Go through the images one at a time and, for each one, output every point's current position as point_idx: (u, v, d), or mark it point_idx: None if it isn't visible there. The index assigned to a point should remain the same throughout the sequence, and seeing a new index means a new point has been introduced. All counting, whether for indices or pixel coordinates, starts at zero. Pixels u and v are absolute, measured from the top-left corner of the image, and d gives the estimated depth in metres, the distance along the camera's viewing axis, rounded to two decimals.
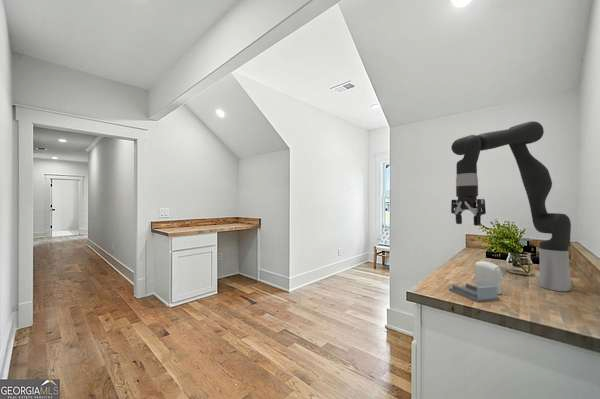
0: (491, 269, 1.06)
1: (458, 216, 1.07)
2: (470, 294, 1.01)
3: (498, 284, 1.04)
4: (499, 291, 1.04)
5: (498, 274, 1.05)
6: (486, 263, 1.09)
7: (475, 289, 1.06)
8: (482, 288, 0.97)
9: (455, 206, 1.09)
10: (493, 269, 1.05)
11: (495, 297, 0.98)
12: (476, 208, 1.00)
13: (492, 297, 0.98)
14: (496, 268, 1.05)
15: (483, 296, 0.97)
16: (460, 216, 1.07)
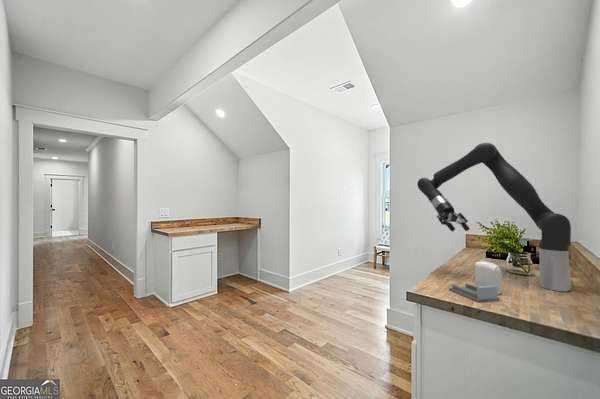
0: (491, 269, 1.06)
1: (462, 225, 1.26)
2: (470, 294, 1.01)
3: (498, 284, 1.04)
4: (499, 291, 1.04)
5: (498, 274, 1.05)
6: (486, 263, 1.09)
7: (475, 289, 1.06)
8: (482, 288, 0.97)
9: None
10: (493, 269, 1.05)
11: (495, 297, 0.98)
12: (447, 219, 1.26)
13: (492, 297, 0.98)
14: (496, 268, 1.05)
15: (483, 296, 0.97)
16: (463, 224, 1.25)
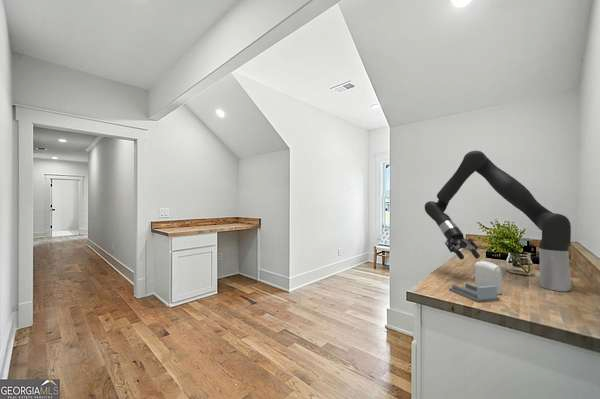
0: (491, 269, 1.06)
1: (472, 252, 1.21)
2: (470, 294, 1.01)
3: (498, 284, 1.04)
4: (499, 291, 1.04)
5: (498, 274, 1.05)
6: (486, 263, 1.09)
7: (475, 289, 1.06)
8: (482, 288, 0.97)
9: None
10: (493, 269, 1.05)
11: (495, 297, 0.98)
12: (455, 246, 1.22)
13: (492, 297, 0.98)
14: (496, 268, 1.05)
15: (483, 296, 0.97)
16: (473, 251, 1.21)
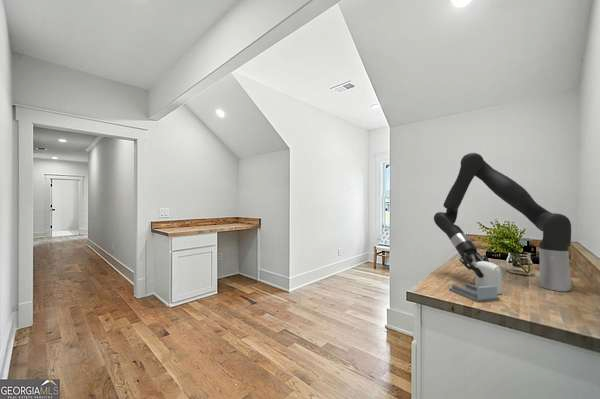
0: (491, 269, 1.06)
1: None
2: (470, 294, 1.01)
3: (498, 284, 1.04)
4: (499, 291, 1.04)
5: (498, 274, 1.05)
6: (486, 263, 1.09)
7: (475, 289, 1.06)
8: (482, 288, 0.97)
9: None
10: (493, 269, 1.05)
11: (495, 297, 0.98)
12: (472, 262, 1.14)
13: (492, 297, 0.98)
14: (496, 268, 1.05)
15: (483, 296, 0.97)
16: None
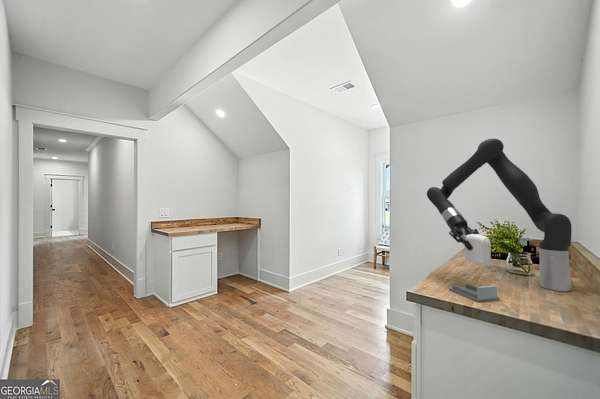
0: (480, 241, 1.04)
1: None
2: (470, 294, 1.01)
3: (487, 255, 1.03)
4: (488, 262, 1.03)
5: (487, 245, 1.03)
6: (475, 235, 1.07)
7: (475, 289, 1.06)
8: (482, 288, 0.97)
9: None
10: (482, 240, 1.04)
11: (495, 297, 0.98)
12: (461, 235, 1.12)
13: (492, 297, 0.98)
14: (485, 239, 1.04)
15: (483, 296, 0.97)
16: None
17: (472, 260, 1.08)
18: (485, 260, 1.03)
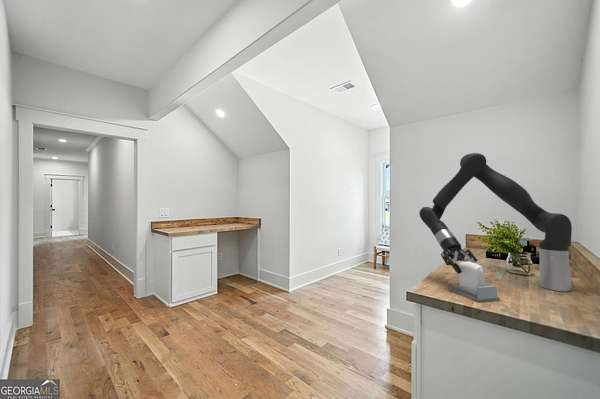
0: (474, 270, 1.02)
1: None
2: (470, 294, 1.01)
3: (481, 285, 1.00)
4: None
5: (481, 275, 1.00)
6: (469, 263, 1.05)
7: None
8: (482, 288, 0.97)
9: None
10: (476, 269, 1.01)
11: (495, 297, 0.98)
12: (452, 258, 1.10)
13: (492, 297, 0.98)
14: (479, 268, 1.01)
15: (483, 296, 0.97)
16: None
17: None
18: None
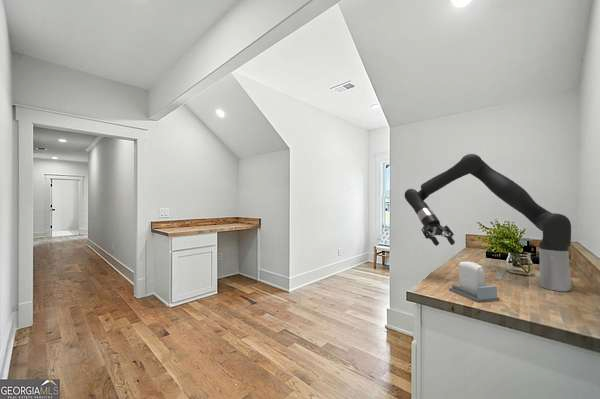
0: (474, 270, 1.02)
1: (448, 239, 1.22)
2: (470, 294, 1.01)
3: (481, 285, 1.00)
4: None
5: (481, 275, 1.00)
6: (469, 263, 1.05)
7: None
8: (482, 288, 0.97)
9: (447, 231, 1.25)
10: (476, 269, 1.01)
11: (495, 297, 0.98)
12: (431, 232, 1.22)
13: (492, 297, 0.98)
14: (479, 268, 1.01)
15: (483, 296, 0.97)
16: (449, 238, 1.21)
17: None
18: None
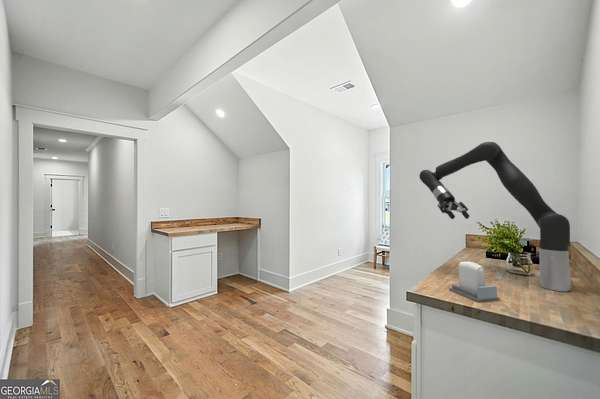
0: (474, 270, 1.02)
1: (462, 213, 1.30)
2: (470, 294, 1.01)
3: (481, 285, 1.00)
4: None
5: (481, 275, 1.00)
6: (469, 263, 1.05)
7: None
8: (482, 288, 0.97)
9: None
10: (476, 269, 1.01)
11: (495, 297, 0.98)
12: (447, 207, 1.30)
13: (492, 297, 0.98)
14: (479, 268, 1.01)
15: (483, 296, 0.97)
16: (464, 212, 1.30)
17: None
18: None
